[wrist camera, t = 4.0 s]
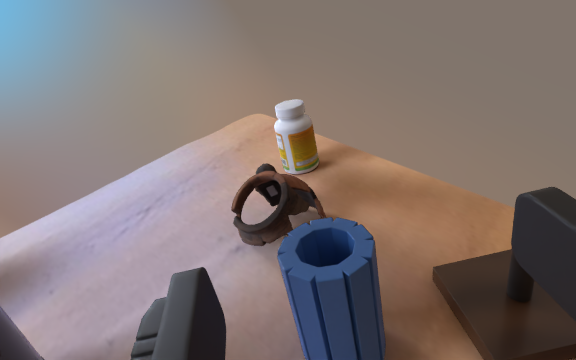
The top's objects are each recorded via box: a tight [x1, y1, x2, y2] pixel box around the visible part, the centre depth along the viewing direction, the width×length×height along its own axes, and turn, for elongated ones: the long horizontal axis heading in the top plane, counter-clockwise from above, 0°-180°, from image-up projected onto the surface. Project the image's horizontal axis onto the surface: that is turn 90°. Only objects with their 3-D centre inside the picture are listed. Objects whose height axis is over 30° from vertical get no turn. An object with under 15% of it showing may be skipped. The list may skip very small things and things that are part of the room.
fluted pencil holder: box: [277, 217, 386, 360], centre depth 26 cm, size 6×6×10 cm
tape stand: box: [433, 249, 576, 360], centre depth 26 cm, size 9×9×10 cm
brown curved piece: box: [232, 164, 326, 246], centre depth 43 cm, size 12×10×8 cm
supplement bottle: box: [274, 100, 319, 174], centre depth 53 cm, size 5×5×10 cm
